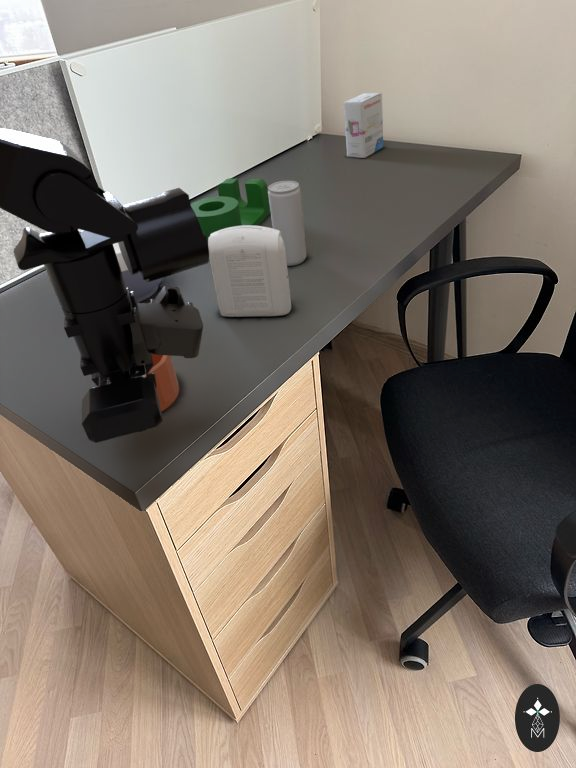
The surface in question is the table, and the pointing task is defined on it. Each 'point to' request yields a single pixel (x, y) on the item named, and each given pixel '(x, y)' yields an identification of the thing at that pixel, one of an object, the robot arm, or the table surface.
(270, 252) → the white rounded block
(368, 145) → the ink box
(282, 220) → the beverage can
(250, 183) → the green bracket
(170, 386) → the cup
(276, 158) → the table surface
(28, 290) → the table surface
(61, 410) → the table surface
